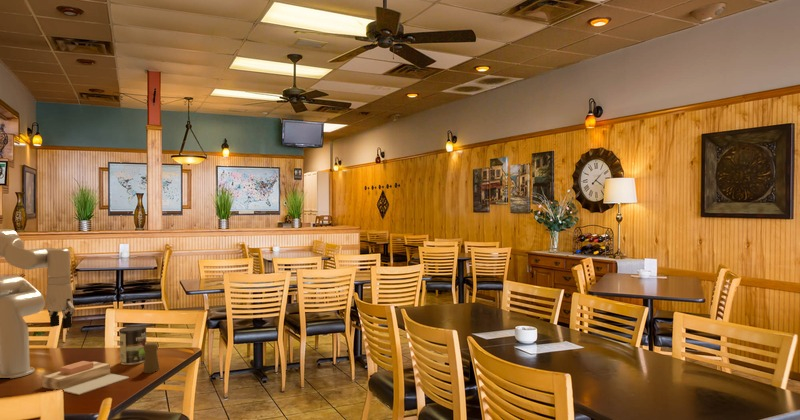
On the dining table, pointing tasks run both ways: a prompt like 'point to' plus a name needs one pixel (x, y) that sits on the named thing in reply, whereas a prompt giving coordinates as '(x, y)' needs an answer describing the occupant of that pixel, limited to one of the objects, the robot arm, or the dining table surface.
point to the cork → (151, 358)
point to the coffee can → (132, 345)
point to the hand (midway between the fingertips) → (61, 326)
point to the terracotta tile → (76, 367)
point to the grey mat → (94, 384)
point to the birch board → (74, 376)
